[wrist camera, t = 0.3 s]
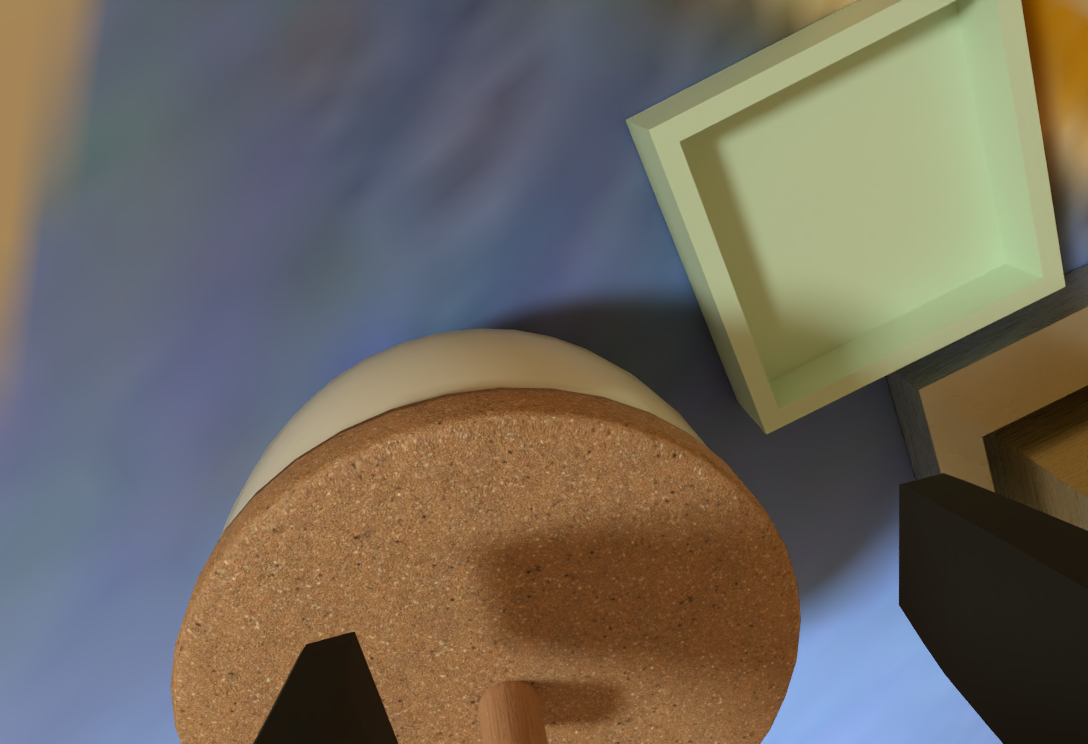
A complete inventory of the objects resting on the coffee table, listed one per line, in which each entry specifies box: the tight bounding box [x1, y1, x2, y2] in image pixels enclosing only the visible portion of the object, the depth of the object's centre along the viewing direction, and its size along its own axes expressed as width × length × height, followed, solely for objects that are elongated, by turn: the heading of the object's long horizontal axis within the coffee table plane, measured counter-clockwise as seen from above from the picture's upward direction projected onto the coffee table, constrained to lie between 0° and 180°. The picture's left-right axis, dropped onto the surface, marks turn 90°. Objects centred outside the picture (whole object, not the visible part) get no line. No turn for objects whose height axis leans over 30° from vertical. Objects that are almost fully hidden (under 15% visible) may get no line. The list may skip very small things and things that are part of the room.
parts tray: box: [625, 0, 1065, 435], centre depth 18 cm, size 8×8×2 cm
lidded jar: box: [171, 329, 801, 744], centre depth 16 cm, size 11×11×9 cm
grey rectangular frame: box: [886, 264, 1088, 492], centre depth 23 cm, size 13×8×2 cm, turn 25°
